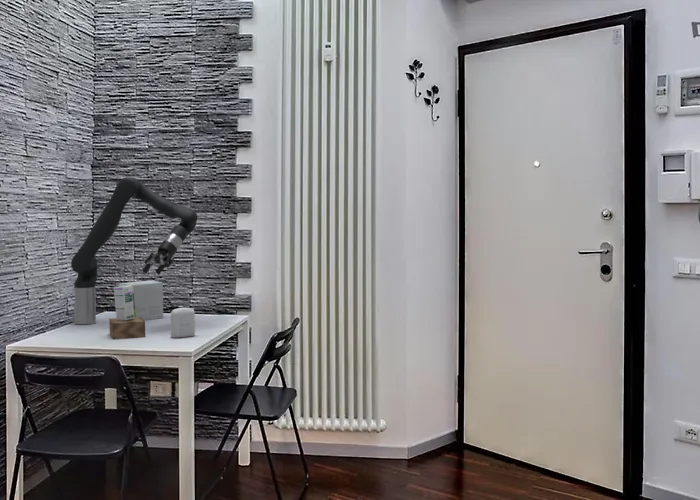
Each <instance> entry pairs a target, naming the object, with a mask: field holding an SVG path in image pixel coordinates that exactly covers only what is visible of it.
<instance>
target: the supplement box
mask: <svg viewBox="0 0 700 500" xmlns="http://www.w3.org/2000/svg"><path fill="white" fill-rule="evenodd" d="M163 283H164V282H161V281H157V280H156V281H155V280H142V281H141V280H140V281H132V282H131V281H130V282H120V283H118V286H123V285H133V291H134V302H135V313H136V317H141V318H142V319H143V320H144V321H149V320H156V319H157V320H158V319H164V285H163Z"/></svg>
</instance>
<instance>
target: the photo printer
mask: <svg viewBox="0 0 700 500" xmlns="http://www.w3.org/2000/svg"><path fill="white" fill-rule="evenodd" d="M195 314H196V313H195V310H194V308H192V307H191V308H190V307H178V308H174V309H172V310H171V312H170V338H172V339H175V338H177V339H178V338H187V337H188V338H189V337H195V331H196V330H195V326H196V325H195V323H196V321H195V320H196V319H195V317H196V315H195Z"/></svg>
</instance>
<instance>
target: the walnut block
mask: <svg viewBox="0 0 700 500" xmlns="http://www.w3.org/2000/svg"><path fill="white" fill-rule="evenodd" d="M109 336H110V337H111V339H112V340H120V339H121V340H122V339H123V340H125V339H135V338H146V320H143V319H142V318H141V317H136V318H134V319H130V320H126V321H123V320H117V318H109Z"/></svg>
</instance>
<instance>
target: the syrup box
mask: <svg viewBox="0 0 700 500" xmlns="http://www.w3.org/2000/svg"><path fill="white" fill-rule="evenodd" d="M113 295H114V304H115V316H116V318H117V320H123V321H126V320H130V319H134V318H136V313H135V302H134V291H133V285H123V286H119V285H118V286H117V285H116V286H113Z"/></svg>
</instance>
